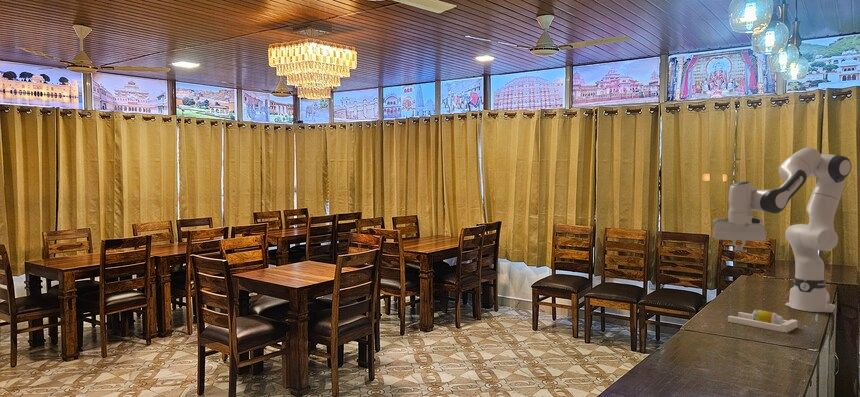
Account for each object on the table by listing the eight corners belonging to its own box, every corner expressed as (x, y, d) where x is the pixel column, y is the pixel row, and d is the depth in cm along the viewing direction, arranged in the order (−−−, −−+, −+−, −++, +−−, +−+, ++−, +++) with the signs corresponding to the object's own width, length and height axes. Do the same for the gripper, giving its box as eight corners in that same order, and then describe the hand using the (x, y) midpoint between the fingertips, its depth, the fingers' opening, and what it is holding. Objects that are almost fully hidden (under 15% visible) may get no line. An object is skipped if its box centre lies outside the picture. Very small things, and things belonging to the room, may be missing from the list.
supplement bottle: (750, 320, 233) (777, 325, 225) (753, 307, 235) (780, 312, 227) (755, 324, 237) (782, 329, 228) (758, 311, 238) (785, 316, 230)
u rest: (739, 316, 245) (739, 310, 245) (797, 327, 228) (797, 320, 228) (727, 321, 237) (727, 314, 237) (786, 332, 220) (786, 325, 220)
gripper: (712, 218, 246) (712, 249, 246) (767, 220, 237) (766, 252, 237) (712, 217, 251) (712, 248, 252) (765, 219, 242) (764, 250, 243)
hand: (738, 250), depth 244 cm, fingers closed
